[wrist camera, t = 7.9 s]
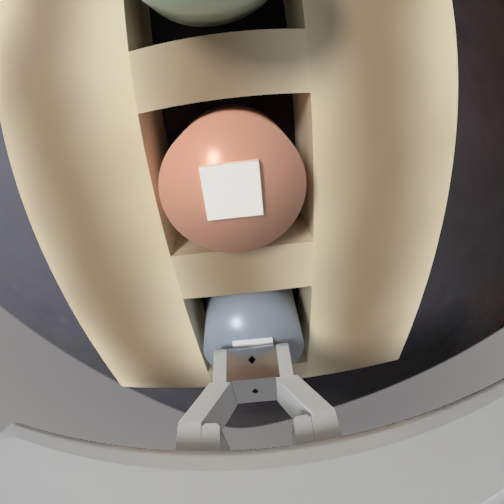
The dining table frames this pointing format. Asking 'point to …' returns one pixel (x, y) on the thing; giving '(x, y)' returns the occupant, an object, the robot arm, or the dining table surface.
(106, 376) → the dining table surface
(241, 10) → the sage button
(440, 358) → the dining table surface
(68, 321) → the dining table surface
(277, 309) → the slate button
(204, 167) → the pink rounded knob
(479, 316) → the dining table surface
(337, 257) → the button board
